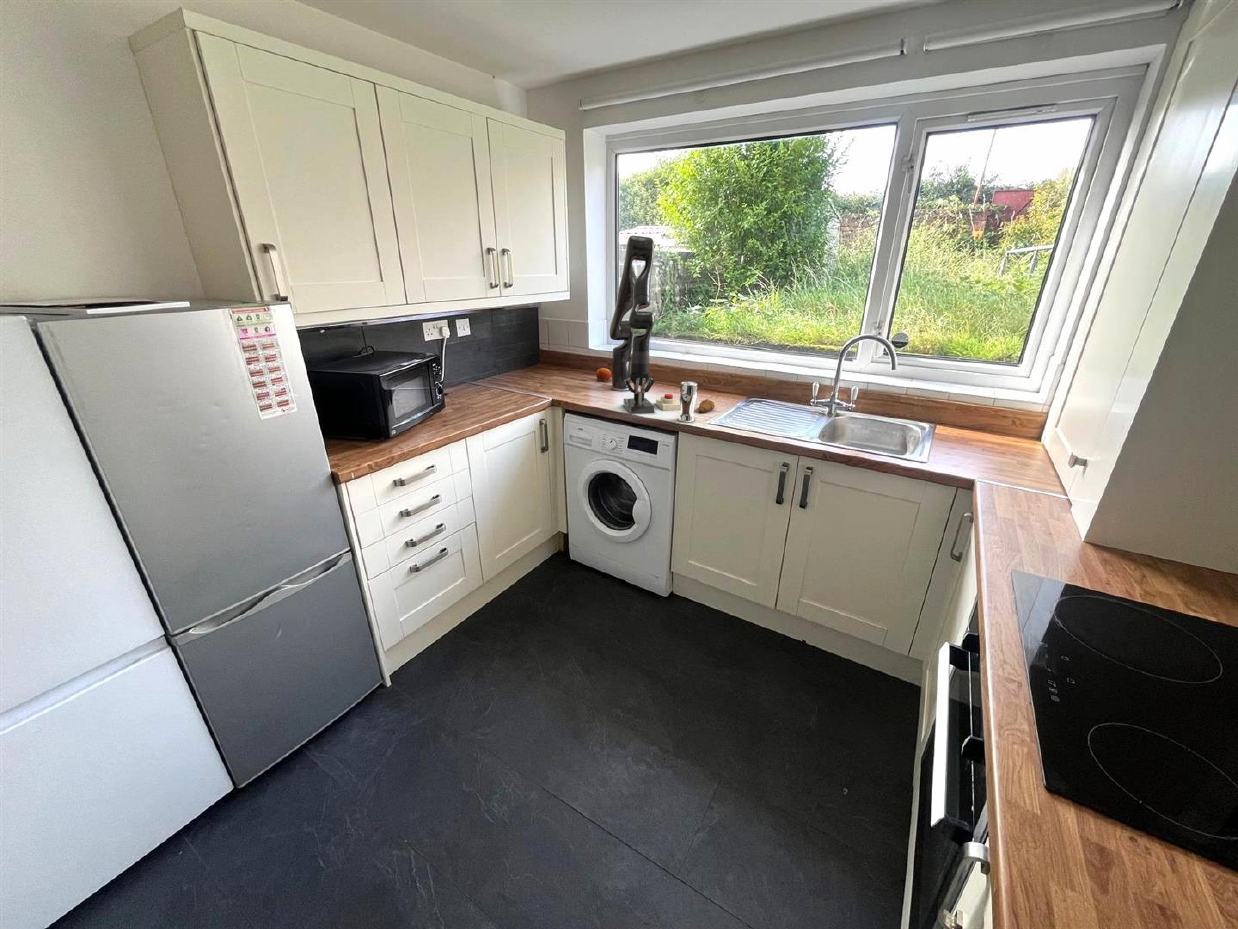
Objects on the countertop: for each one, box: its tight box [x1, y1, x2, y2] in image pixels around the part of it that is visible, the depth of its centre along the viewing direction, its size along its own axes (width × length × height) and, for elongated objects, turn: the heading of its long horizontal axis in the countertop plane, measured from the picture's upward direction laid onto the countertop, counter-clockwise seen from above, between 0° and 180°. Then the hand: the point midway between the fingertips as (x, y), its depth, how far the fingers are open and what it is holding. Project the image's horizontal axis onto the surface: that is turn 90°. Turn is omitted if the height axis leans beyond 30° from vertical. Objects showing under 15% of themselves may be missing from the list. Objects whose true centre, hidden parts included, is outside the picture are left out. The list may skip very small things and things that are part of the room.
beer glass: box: [678, 381, 698, 423], centre depth 198 cm, size 7×7×15 cm
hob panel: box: [623, 397, 655, 415], centre depth 214 cm, size 14×10×3 cm
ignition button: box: [663, 393, 674, 399], centre depth 218 cm, size 4×4×2 cm
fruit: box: [595, 367, 612, 383], centre depth 265 cm, size 8×8×8 cm
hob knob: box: [638, 389, 642, 404], centre depth 213 cm, size 5×1×5 cm, turn 13°
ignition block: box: [655, 395, 680, 411], centre depth 219 cm, size 11×8×4 cm
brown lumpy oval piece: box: [698, 398, 716, 414], centre depth 215 cm, size 14×7×5 cm, turn 151°
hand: (638, 401), depth 214 cm, fingers closed
